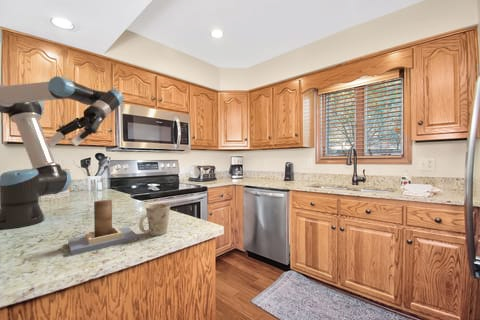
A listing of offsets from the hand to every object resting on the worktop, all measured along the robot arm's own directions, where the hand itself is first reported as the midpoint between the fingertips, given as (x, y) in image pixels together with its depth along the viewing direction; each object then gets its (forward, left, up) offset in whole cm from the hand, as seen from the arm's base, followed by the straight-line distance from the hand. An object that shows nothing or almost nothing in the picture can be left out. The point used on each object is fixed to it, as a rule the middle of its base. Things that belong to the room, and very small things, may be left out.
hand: (60, 144), depth 83 cm
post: (+23, +10, -32) cm, 41 cm away
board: (+23, +10, -34) cm, 42 cm away
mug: (+28, +25, -34) cm, 50 cm away
